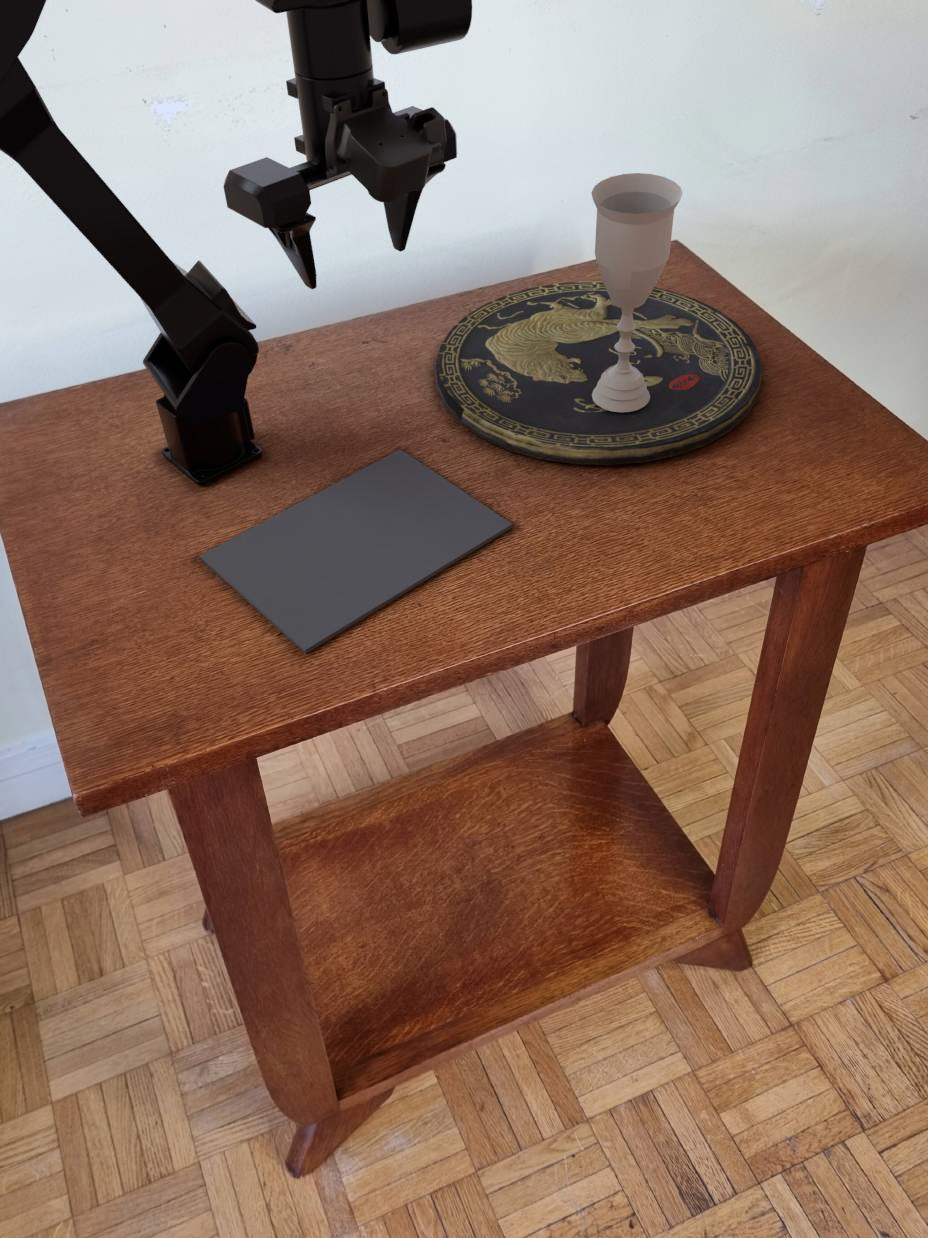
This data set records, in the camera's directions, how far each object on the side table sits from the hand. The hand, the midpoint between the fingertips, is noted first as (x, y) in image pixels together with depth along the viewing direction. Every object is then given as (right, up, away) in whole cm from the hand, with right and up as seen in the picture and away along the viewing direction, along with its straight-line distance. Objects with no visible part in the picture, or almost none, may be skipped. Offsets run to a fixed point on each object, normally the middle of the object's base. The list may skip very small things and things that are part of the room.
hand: (356, 267), depth 90 cm
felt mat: (+1, -23, -5) cm, 24 cm away
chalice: (+23, -10, +5) cm, 25 cm away
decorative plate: (+21, -6, +11) cm, 25 cm away
